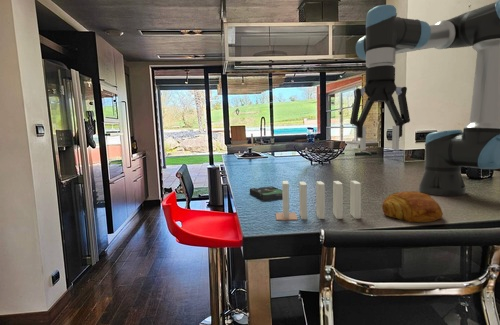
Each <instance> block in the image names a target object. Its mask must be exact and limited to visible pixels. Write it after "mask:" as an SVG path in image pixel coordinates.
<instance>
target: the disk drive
mask: <svg viewBox="0 0 500 325" xmlns="http://www.w3.org/2000/svg"><path fill="white" fill-rule="evenodd" d="M249 195H251V196H253V197H255V198H257V199H259V200H261V201H263V202H266V201H275V200H283V195H282V189H280V188H277V187H275V186H262V187H259V188H255V187H252V188H249Z"/></svg>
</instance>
